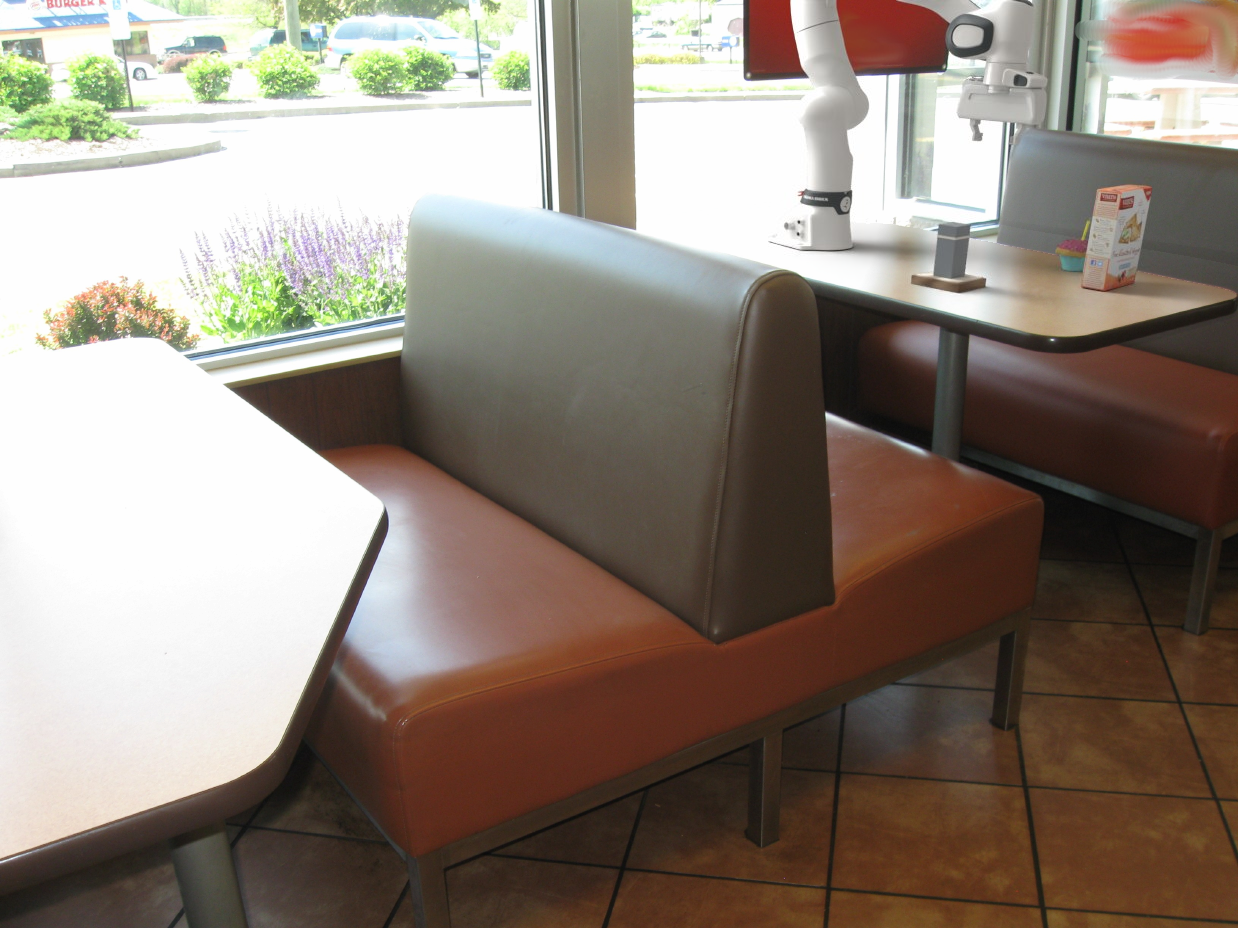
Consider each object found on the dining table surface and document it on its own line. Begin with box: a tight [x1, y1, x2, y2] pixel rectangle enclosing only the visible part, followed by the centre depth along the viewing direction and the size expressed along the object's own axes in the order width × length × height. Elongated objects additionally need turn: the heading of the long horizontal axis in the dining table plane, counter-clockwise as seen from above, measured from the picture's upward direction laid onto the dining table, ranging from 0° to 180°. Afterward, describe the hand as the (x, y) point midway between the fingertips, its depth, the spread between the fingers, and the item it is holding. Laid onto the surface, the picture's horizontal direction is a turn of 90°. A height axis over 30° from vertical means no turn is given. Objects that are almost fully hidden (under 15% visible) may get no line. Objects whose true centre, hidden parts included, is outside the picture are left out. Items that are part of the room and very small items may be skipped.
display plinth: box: [910, 270, 987, 294], centre depth 237 cm, size 12×10×2 cm
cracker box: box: [1080, 184, 1153, 292], centre depth 234 cm, size 14×6×21 cm, turn 131°
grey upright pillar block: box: [933, 221, 972, 279], centre depth 235 cm, size 5×5×11 cm
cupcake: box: [1055, 217, 1092, 272], centre depth 251 cm, size 9×8×12 cm
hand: (995, 143), depth 244 cm, fingers open, 8 cm apart
